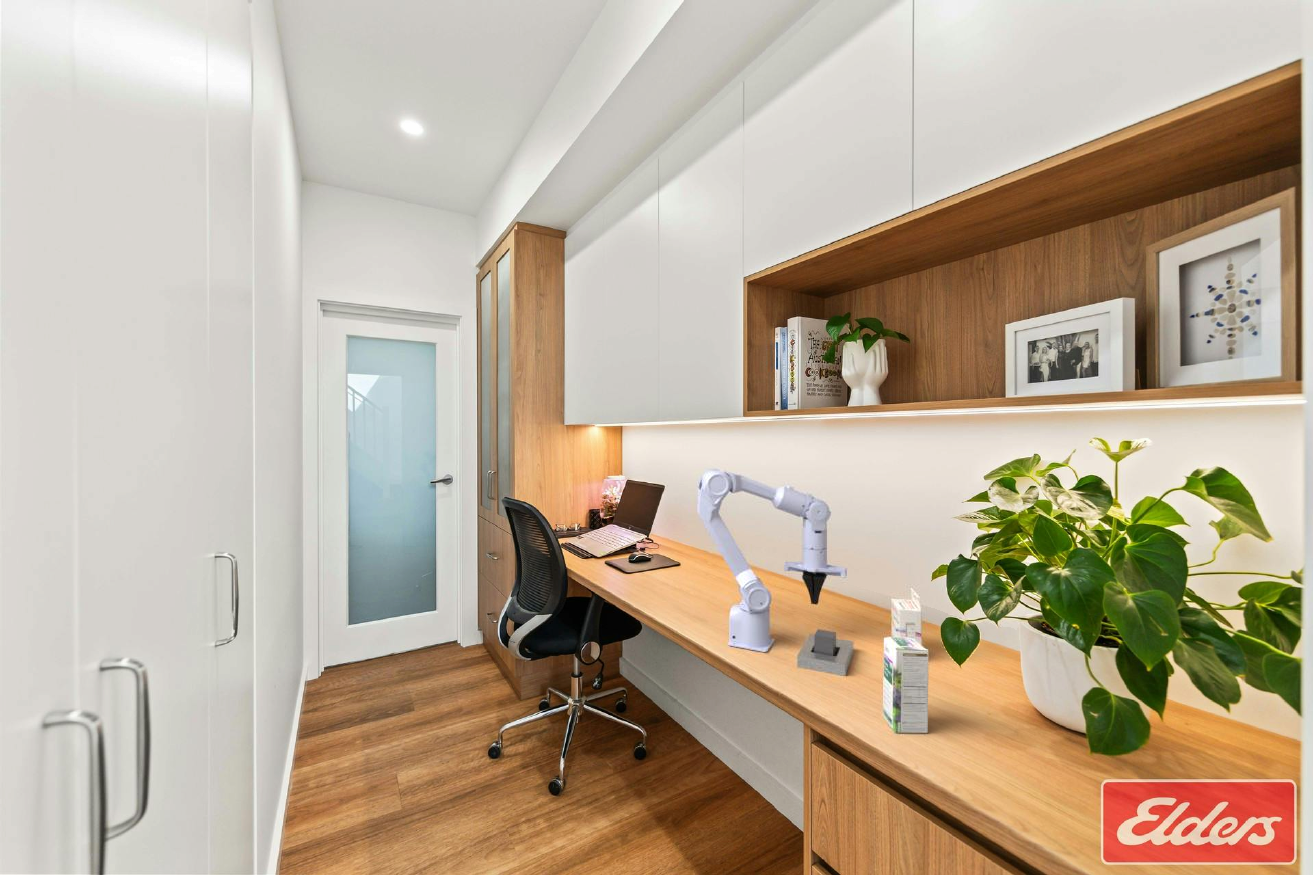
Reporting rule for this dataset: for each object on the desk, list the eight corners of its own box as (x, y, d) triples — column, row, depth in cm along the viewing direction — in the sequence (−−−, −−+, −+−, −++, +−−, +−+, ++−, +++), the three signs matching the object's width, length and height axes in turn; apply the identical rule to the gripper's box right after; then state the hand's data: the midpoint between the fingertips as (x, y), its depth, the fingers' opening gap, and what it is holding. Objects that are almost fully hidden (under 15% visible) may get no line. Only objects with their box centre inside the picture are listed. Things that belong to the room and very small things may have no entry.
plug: (814, 661, 119) (814, 634, 119) (817, 655, 122) (817, 629, 122) (833, 665, 117) (833, 638, 117) (836, 658, 120) (835, 631, 120)
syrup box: (881, 716, 96) (881, 636, 96) (914, 716, 96) (914, 636, 96) (894, 733, 90) (894, 648, 90) (930, 734, 90) (929, 649, 90)
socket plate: (797, 666, 117) (797, 653, 117) (809, 644, 129) (809, 632, 129) (845, 676, 112) (845, 662, 112) (853, 651, 125) (853, 639, 125)
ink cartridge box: (890, 646, 128) (890, 585, 128) (912, 647, 127) (912, 586, 127) (898, 661, 119) (898, 595, 119) (922, 663, 118) (922, 597, 118)
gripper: (780, 547, 129) (781, 603, 129) (843, 553, 123) (843, 612, 123) (787, 542, 135) (787, 595, 135) (847, 547, 129) (847, 603, 129)
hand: (814, 603), depth 129 cm, fingers closed
